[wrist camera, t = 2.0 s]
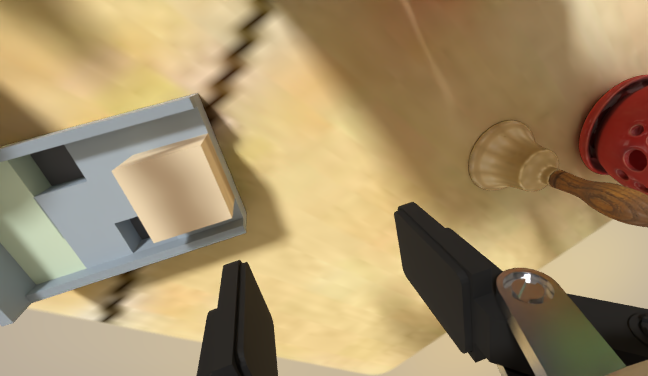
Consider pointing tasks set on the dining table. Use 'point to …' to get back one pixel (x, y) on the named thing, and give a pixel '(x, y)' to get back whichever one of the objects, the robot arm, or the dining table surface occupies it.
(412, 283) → the robot arm
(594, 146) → the plant pot
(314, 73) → the dining table surface
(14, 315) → the tray
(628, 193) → the hand bell
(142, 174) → the block
